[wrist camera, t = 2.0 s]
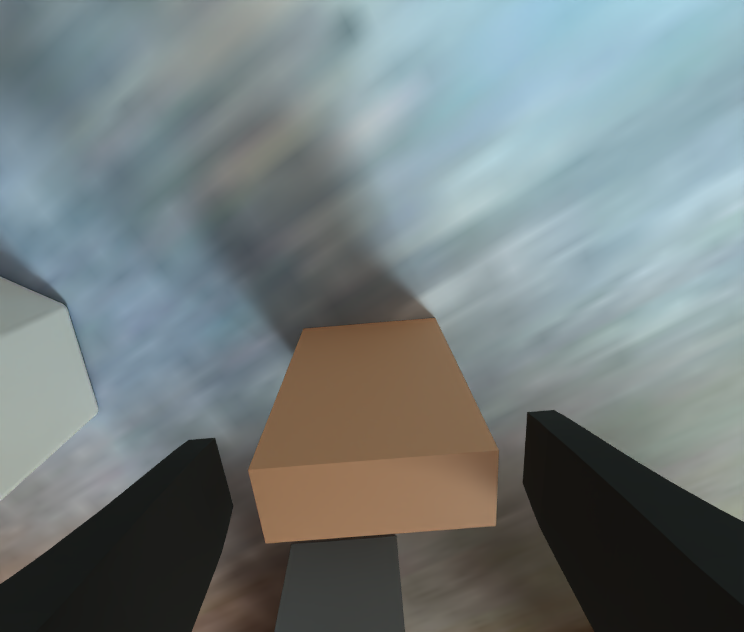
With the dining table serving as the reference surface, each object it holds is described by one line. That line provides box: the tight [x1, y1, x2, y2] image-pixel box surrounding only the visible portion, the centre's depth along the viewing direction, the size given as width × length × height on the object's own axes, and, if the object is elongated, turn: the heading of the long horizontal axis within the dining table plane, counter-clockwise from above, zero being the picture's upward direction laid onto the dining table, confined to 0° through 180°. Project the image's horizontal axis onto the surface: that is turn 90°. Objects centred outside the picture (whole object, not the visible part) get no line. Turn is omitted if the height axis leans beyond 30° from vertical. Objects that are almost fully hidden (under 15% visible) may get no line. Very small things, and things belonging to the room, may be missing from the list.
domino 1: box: [248, 318, 499, 543], centre depth 12 cm, size 2×5×8 cm, turn 95°
